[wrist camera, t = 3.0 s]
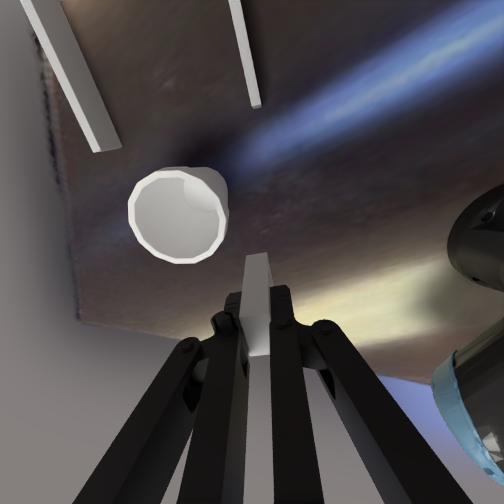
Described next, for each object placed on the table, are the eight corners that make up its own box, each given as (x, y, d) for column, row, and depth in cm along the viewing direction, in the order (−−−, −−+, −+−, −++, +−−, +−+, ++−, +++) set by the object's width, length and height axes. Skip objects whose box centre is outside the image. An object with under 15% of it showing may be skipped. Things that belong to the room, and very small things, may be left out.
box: (261, 106, 31) (261, 103, 27) (116, 149, 34) (93, 152, 30) (224, -79, 25) (214, -124, 20) (47, -6, 28) (4, -32, 23)
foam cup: (216, 141, 33) (189, 149, 22) (250, 203, 37) (243, 239, 25) (158, 176, 36) (107, 201, 24) (196, 231, 39) (166, 277, 27)
